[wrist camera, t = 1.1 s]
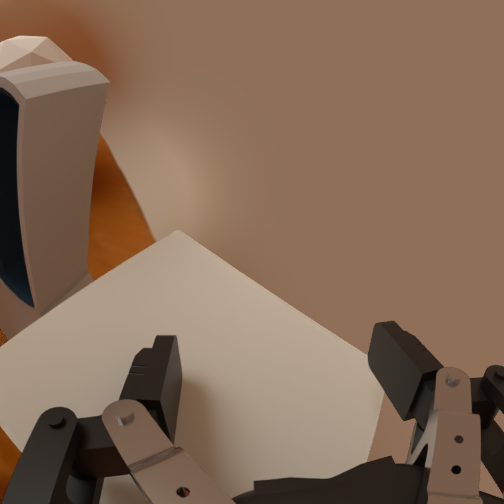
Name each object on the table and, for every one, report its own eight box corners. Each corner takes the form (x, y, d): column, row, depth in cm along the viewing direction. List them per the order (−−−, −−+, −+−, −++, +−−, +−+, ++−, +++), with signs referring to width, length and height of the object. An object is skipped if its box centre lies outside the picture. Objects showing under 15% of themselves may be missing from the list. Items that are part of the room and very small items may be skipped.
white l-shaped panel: (59, 466, 20) (-35, 373, 7) (141, 384, 31) (178, 229, 18) (183, 557, 17) (296, 615, 4) (249, 460, 29) (388, 369, 16)
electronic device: (109, 354, 32) (147, 81, 15) (75, 400, 26) (47, 98, 9) (37, 301, 33) (34, 53, 15) (1, 337, 27) (-45, 70, 9)
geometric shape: (21, 181, 62) (69, 80, 63) (57, 200, 47) (127, 61, 48) (-65, 147, 37) (-6, 35, 38) (-74, 150, 22) (24, -13, 23)
